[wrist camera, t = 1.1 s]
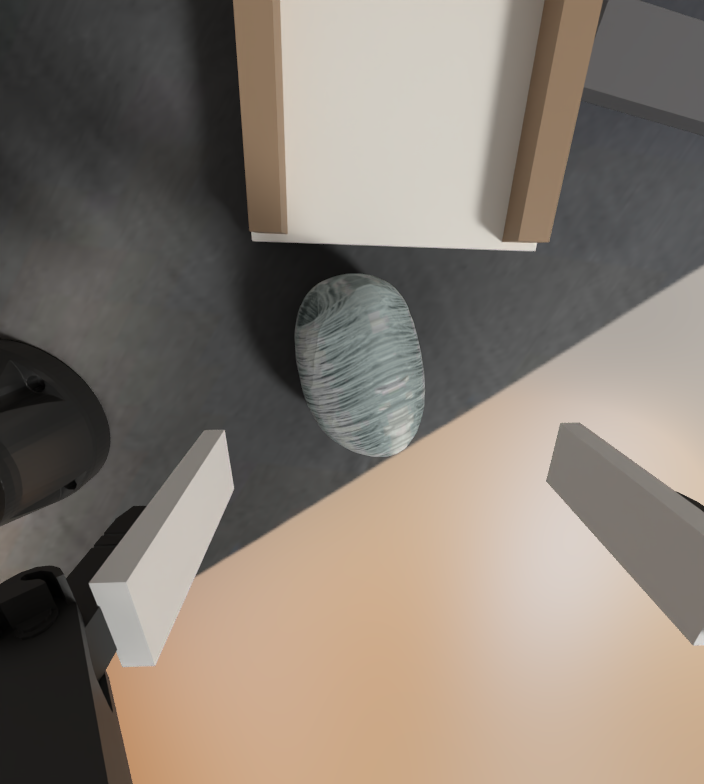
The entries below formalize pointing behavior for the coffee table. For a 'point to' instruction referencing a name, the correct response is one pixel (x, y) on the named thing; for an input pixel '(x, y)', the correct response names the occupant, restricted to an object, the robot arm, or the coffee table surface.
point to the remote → (648, 64)
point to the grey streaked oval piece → (360, 364)
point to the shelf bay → (409, 118)
